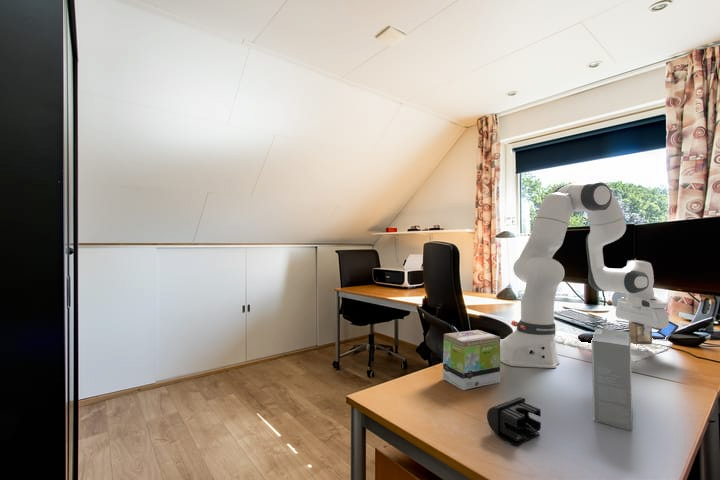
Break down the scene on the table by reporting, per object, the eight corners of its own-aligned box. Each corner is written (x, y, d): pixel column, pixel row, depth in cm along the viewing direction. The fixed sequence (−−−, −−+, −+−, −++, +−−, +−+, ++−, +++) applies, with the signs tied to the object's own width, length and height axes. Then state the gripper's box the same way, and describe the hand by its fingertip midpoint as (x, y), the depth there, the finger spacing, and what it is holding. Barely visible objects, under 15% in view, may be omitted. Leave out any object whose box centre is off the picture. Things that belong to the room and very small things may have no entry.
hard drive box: (596, 398, 92) (595, 327, 93) (632, 406, 87) (631, 331, 88) (592, 421, 80) (591, 339, 81) (632, 432, 75) (631, 345, 76)
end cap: (513, 420, 81) (513, 392, 81) (542, 435, 74) (541, 405, 75) (486, 432, 76) (486, 402, 76) (514, 448, 69) (514, 416, 70)
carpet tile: (668, 351, 136) (668, 346, 136) (633, 364, 121) (633, 358, 121) (569, 330, 170) (569, 326, 170) (533, 338, 156) (533, 333, 156)
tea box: (464, 392, 96) (464, 341, 97) (442, 379, 105) (442, 333, 106) (501, 383, 103) (501, 335, 103) (477, 371, 112) (477, 328, 112)
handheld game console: (639, 332, 163) (639, 317, 163) (668, 335, 159) (668, 320, 159) (648, 339, 152) (648, 323, 152) (679, 342, 147) (679, 325, 147)
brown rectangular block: (636, 344, 131) (635, 324, 132) (629, 342, 134) (628, 322, 135) (652, 344, 132) (652, 324, 132) (645, 342, 135) (644, 322, 135)
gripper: (611, 296, 144) (611, 328, 143) (656, 304, 123) (656, 341, 123) (624, 296, 144) (625, 327, 144) (671, 304, 124) (672, 341, 123)
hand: (640, 334), depth 133 cm, fingers closed on brown rectangular block, 3 cm apart
